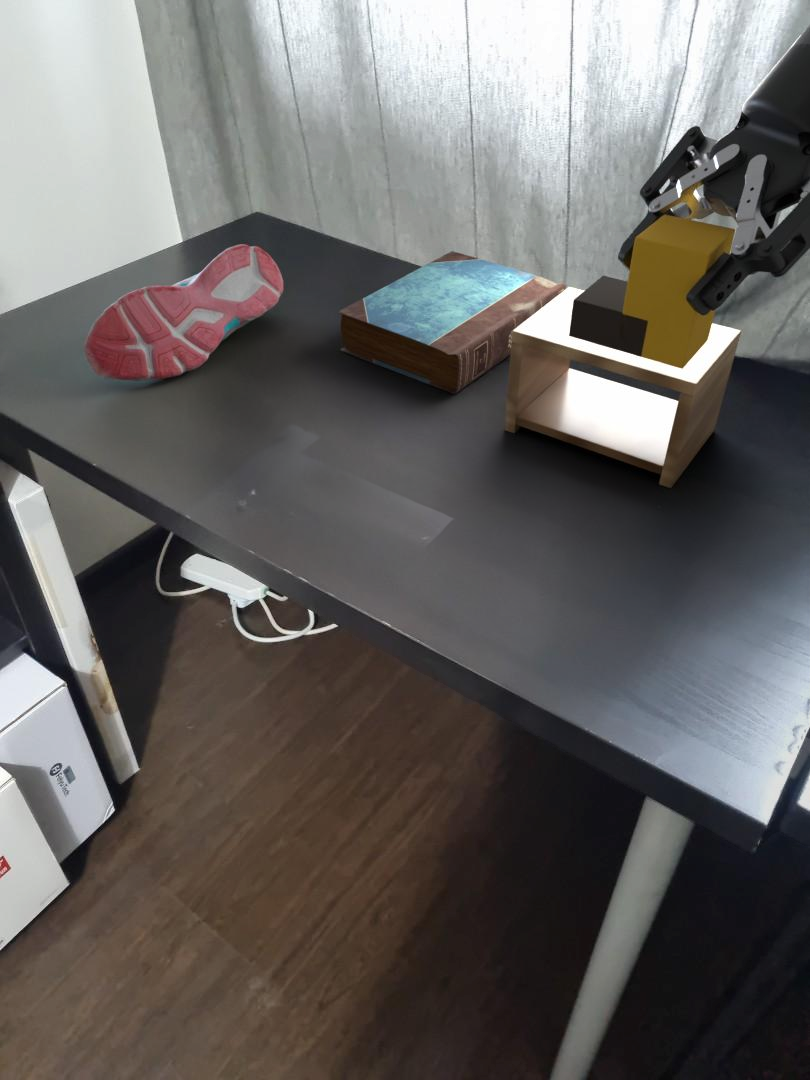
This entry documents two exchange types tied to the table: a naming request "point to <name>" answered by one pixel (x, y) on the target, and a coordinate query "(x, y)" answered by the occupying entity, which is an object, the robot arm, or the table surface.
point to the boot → (654, 294)
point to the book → (445, 319)
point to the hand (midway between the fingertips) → (658, 285)
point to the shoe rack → (615, 393)
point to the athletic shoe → (183, 317)
